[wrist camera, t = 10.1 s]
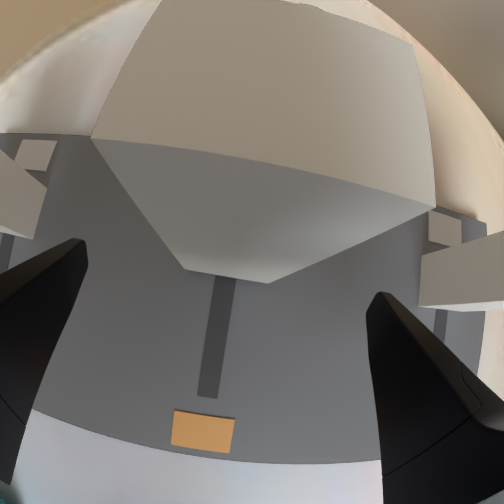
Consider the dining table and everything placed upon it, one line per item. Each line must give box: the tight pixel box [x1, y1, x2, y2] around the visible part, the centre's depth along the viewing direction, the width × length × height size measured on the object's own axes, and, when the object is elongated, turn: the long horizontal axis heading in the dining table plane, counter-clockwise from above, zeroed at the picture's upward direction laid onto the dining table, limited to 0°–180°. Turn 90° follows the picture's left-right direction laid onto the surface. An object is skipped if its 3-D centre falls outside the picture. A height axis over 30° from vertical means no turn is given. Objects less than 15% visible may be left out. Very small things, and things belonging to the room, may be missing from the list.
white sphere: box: [298, 4, 323, 11], centre depth 17 cm, size 8×6×6 cm
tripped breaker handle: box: [90, 0, 436, 284], centre depth 9 cm, size 3×4×12 cm
